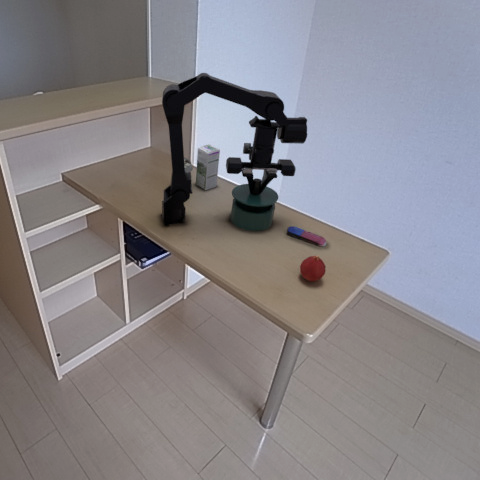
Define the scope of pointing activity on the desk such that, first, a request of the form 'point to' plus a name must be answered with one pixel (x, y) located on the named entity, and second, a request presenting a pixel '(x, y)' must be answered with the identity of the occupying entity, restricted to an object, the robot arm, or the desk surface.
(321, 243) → the eraser
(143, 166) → the desk surface
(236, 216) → the pot
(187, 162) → the food container
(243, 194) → the lid
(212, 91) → the robot arm
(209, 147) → the syrup box
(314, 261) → the onion
